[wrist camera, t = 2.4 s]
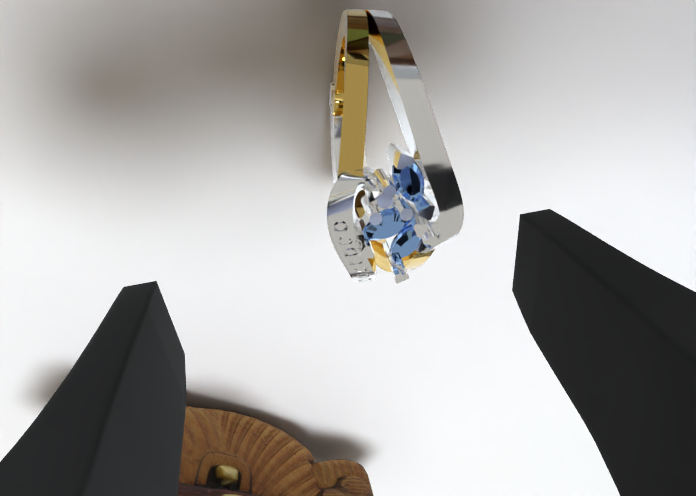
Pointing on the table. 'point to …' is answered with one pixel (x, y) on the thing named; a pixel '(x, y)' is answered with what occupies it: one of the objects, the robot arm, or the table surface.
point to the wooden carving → (257, 461)
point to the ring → (404, 169)
